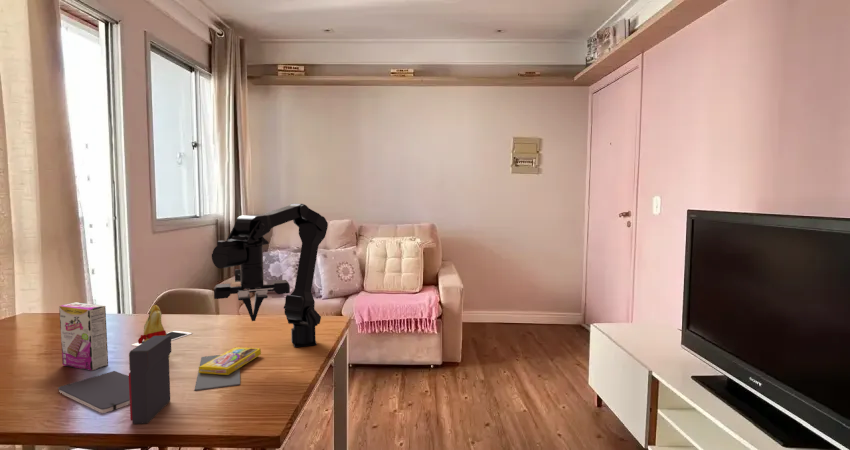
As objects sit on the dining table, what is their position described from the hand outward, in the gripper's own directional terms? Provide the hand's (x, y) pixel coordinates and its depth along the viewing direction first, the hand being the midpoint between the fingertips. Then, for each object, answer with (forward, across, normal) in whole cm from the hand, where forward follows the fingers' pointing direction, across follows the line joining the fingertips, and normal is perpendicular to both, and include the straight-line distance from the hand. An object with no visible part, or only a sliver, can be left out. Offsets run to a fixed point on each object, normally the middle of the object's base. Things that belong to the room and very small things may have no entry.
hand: (253, 320), depth 132 cm
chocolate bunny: (+12, +26, -15) cm, 32 cm away
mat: (+12, +9, +2) cm, 15 cm away
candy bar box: (+12, +42, -15) cm, 46 cm away
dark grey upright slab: (+12, +21, +22) cm, 33 cm away
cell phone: (+13, +26, -34) cm, 44 cm away
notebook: (+12, +32, +7) cm, 35 cm away
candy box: (+10, +2, +1) cm, 11 cm away
